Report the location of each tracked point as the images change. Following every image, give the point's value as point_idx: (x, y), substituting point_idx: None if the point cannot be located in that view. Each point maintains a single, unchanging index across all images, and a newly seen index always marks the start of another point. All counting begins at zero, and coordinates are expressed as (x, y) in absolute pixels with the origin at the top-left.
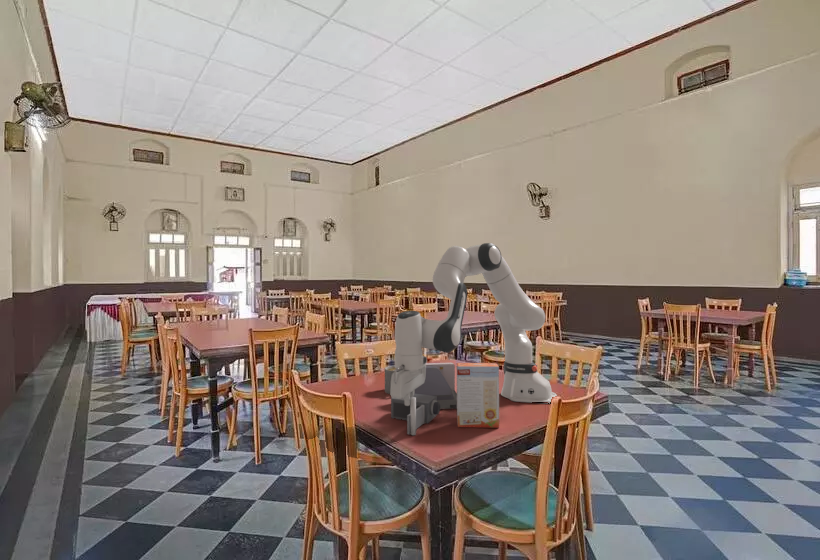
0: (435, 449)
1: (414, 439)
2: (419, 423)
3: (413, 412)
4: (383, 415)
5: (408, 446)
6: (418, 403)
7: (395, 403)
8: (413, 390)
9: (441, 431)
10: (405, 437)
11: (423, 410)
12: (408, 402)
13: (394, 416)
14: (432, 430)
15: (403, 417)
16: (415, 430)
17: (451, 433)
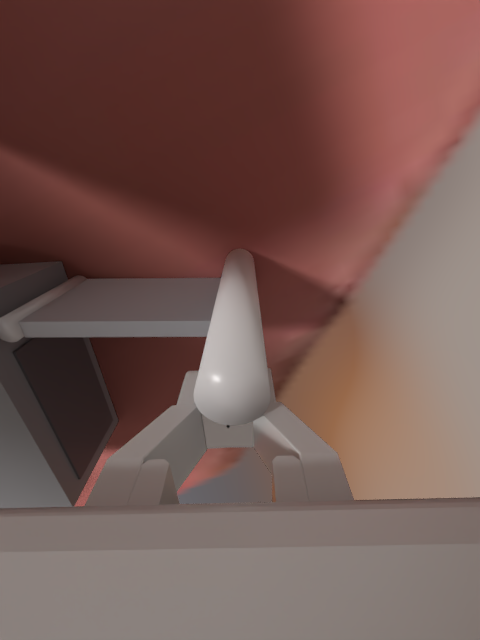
0: (396, 23)
1: (290, 229)
2: (126, 284)
3: (256, 303)
4: (114, 450)
5: (387, 217)
6: (4, 368)
7: (79, 467)
8: (137, 497)
9: (107, 128)
10: (284, 282)
11: (36, 306)
12: (274, 394)
13: (110, 416)
14: (127, 192)
15: (99, 383)
16: (242, 254)
17: (92, 33)
